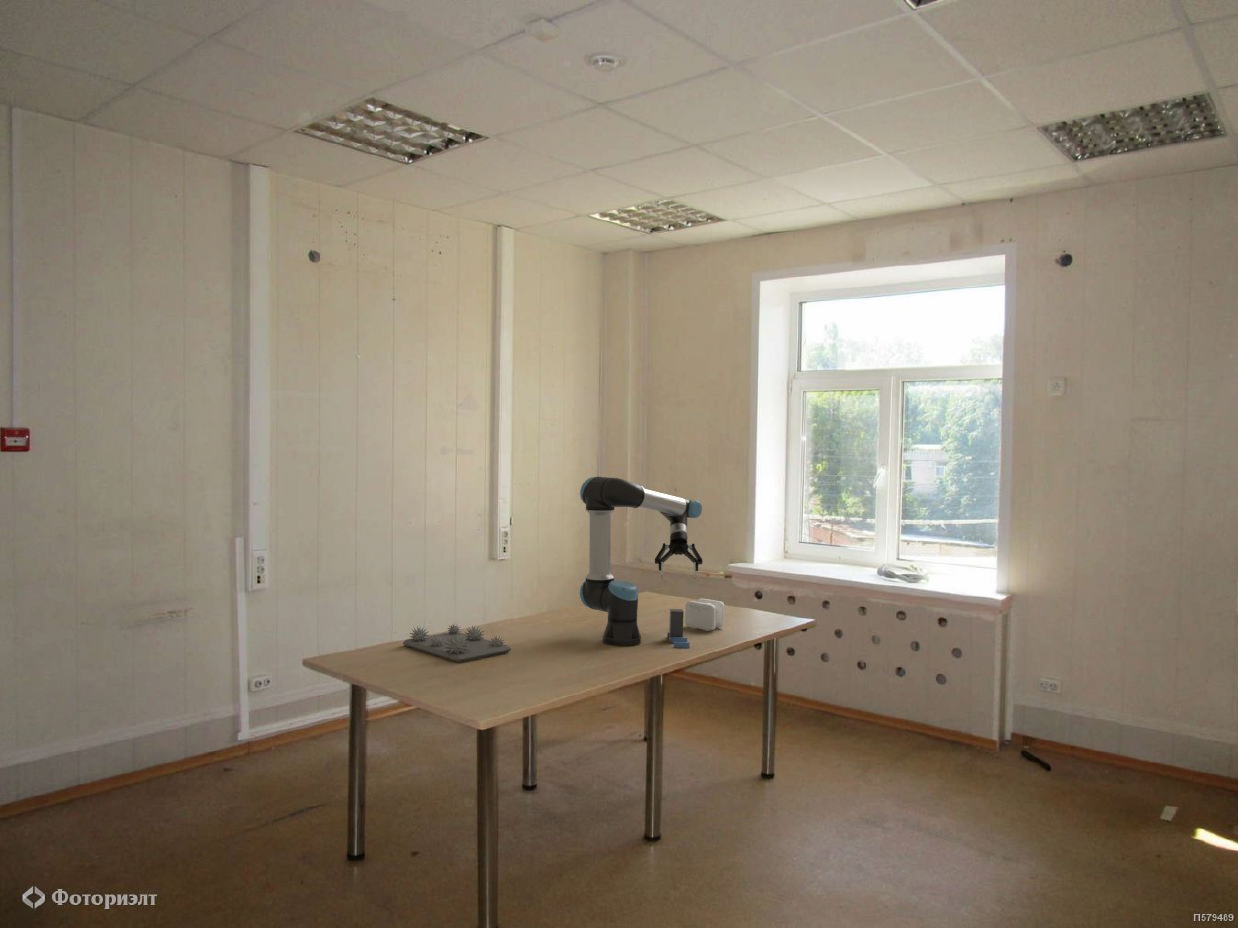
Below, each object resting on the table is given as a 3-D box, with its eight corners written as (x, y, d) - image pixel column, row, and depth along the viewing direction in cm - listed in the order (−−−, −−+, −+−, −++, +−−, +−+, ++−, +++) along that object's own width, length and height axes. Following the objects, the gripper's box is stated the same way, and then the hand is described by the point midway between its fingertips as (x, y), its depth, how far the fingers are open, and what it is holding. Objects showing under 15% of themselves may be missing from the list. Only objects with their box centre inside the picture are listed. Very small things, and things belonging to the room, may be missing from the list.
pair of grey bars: (669, 642, 329) (669, 637, 329) (667, 637, 338) (667, 632, 338) (684, 642, 329) (684, 637, 329) (682, 637, 338) (682, 632, 338)
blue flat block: (674, 647, 320) (674, 642, 320) (671, 642, 329) (672, 637, 329) (689, 647, 320) (689, 642, 320) (686, 642, 329) (687, 637, 329)
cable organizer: (726, 629, 357) (727, 602, 357) (712, 632, 349) (713, 605, 349) (697, 623, 367) (698, 597, 367) (683, 627, 359) (684, 600, 359)
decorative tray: (513, 654, 304) (513, 627, 304) (455, 666, 285) (455, 637, 285) (456, 637, 328) (456, 612, 328) (399, 647, 309) (399, 621, 309)
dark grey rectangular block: (670, 641, 331) (671, 611, 331) (669, 638, 336) (669, 608, 336) (682, 641, 331) (683, 611, 331) (681, 638, 336) (682, 609, 336)
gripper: (707, 541, 362) (708, 582, 348) (650, 541, 364) (648, 581, 350) (707, 531, 357) (708, 571, 343) (649, 530, 359) (648, 571, 345)
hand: (678, 576), depth 346 cm, fingers open, 13 cm apart
